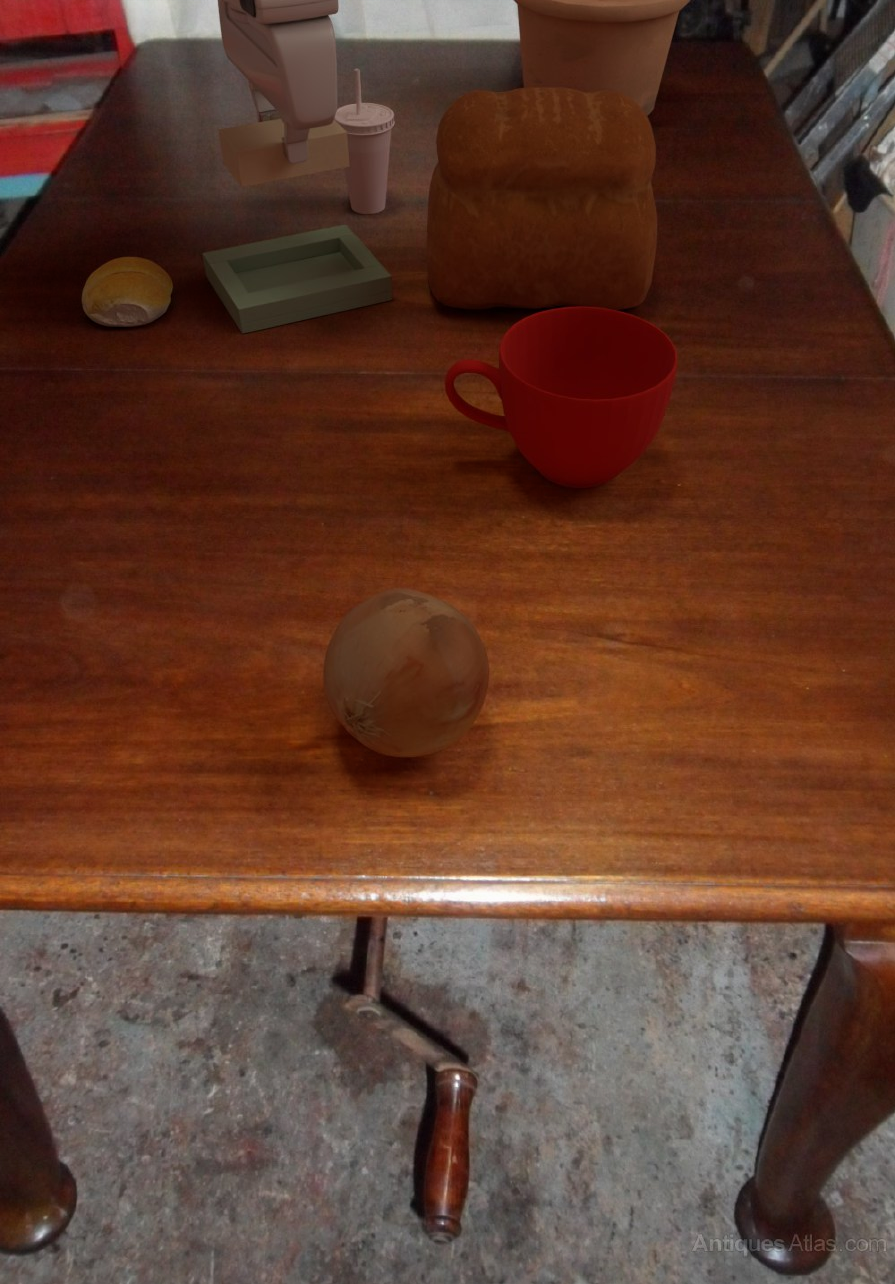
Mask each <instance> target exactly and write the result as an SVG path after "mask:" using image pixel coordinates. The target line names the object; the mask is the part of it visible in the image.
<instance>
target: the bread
mask: <svg viewBox="0 0 895 1284" xmlns="http://www.w3.org/2000/svg"><path fill="white" fill-rule="evenodd" d="M435 144H436V155H437V162H436V165H435V167H434V169H433V172H432V176H431V179H430V183H429V191H428V200H427V202H428V203H427V221H426V269H427V276H428V277H427V279H428V285H429V286H428V287H429V288H430V289H429V290H430V291H431V293H432V295H433V297H434V298H435V299H436V300H437V301H438V302H439V303H440V304H442V305H444V306H445V307H449V308H454V309H460V310H461V309H462V310H481V311H482V310H489V309H493V308H498V307H502V308H510V309H525V310H527V309H528V310H537V309H545V308H554V307H561V306H562V307H598V308H605V309H611V310H616V311H620V310H625V309H626V310H627V309H631V308H636V307H637V306H639V305H641V304H642V303H644V302H645V299H646V298H647V294H648V292H649V290H650V287H651V285H652V282H653V273H654V266H655V261H656V252H657V246H658V245H657V242H658V211H657V206H656V202H655V196H654V190H653V185H652V178H653V174H654V171H655V167H656V160H657V146H656V140H655V136H654V131H653V127H652V124H651V122H650V119H649V117H648V116H647V115H646V114H645V113H644V111H643V110H642V109H641V108H640V106H639V105H638V104H637V103H636V102H635V101H634V100H633V99H631V98H630V97H629V96H627V95H625V94H623V93H621V92H617V91H613V90H601V91H596V92H590V93H585V92H582V91H578V90H575V89H570V88H562V87H528V88H524V87H519V88H515V89H511V90H506V91H501V92H495V91H491V90H486V89H485V90H484V89H481V90H480V89H475V90H471V91H468V92H466V93H463V94H462V95H461V96H459V97H458V98H456V99H455V100H454V101H453V102H452V103H451V104H450V105H449V106H448V108H447V109H446V111H444V112H443V114H442V116H441V118H440V120H439V123H438V127H437V134H436V139H435Z"/></svg>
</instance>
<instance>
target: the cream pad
mask: <svg viewBox="0 0 895 1284" xmlns="http://www.w3.org/2000/svg"><path fill="white" fill-rule="evenodd" d="M218 137H219V143H220V151H221V156H222V157H221V158H222V163H223V165H224V167H225V168H226V169H227V171H228V172H229V173H230V174H231V176H232V177H233V178H234V179H235V181H236V182H237V183H238V184H239V186H240V187H241V188H246V187H251V186H255V185H261V184H267V183H271V182H278V181H282V180H283V181H284V180H287V179H292V178H293V179H294V178H297V177H303V176H307V175H313V174H318V173H325V172H328V171H329V172H330V171H334V170H339V169H344V168H345V167H349V156H348V142H347V132H346V131H345V130H344V129H343V128H342V127H341V126H340V125H339V124H338V123H337V122H336V121H335V120H334V121H333V123H332V124H330V125H327V126H322V127H317V128H311V129H309V134H308V139H307V147H308V159H307V160H306V161H305V162H301V163H296V164H292V163H290V162H289V161H288V159H287V158H286V157H285V156H284V152H283V144H282V137H284V123H283V122H282V119H276V120H270V121H265V122H258V121H257V122H253V123H248V124H241V125H236V126H230V127H225V128H224V127H223V128H220V129H219V128H218Z"/></svg>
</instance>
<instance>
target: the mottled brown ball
mask: <svg viewBox="0 0 895 1284" xmlns="http://www.w3.org/2000/svg"><path fill="white" fill-rule="evenodd" d="M324 655H325V656H324V662H323V669H322V680H323V689H324V694H325V698H326V701H327V703H328V706H329V708H330V710H331V712H332V714H333V715H334V716H335V718H336V719H337V721H338V722H339V723H340V724H341V725H342V727H343V728H344V729H345V730H346V732H347V733H348V734H349V735H351V736H352V737H353V738H354V739H356V740H357V741H358V742H359V743H360V744H361V745H362V746H365V747H366V748H368V749H370V750H371V751H373V752H375V753H377V754H381V755H384V756H388V757H396V758H416V757H417V758H419V757H423V756H427V755H433V754H437V753H439V752H442V751H444V750H446V749H448V748H450V747H452V746H453V745H455V744H456V743H458V742H459V741H460V740H461V739H462V738H463V737H464V736H465V735H466V734H467V733H468V732H469V730H471V728H472V726H473V724H474V723H475V721H476V720H477V718H478V716H479V715H480V713H481V711H482V709H483V706H484V703H485V701H486V697H487V692H488V687H489V682H490V662H489V657H488V653H487V649H486V647H485V645H484V643H483V641H482V639H481V636H480V634H479V633H478V631H477V629H476V628H475V626H474V625H473V624H472V623H471V621H470V620H469V619H468V617H467V616H466V615H465V614H464V613H463V612H462V611H460V610H459V609H458V608H456V607H455V606H454V605H452V604H450V603H448V602H447V601H445V600H443V599H440V598H439V597H436V596H434V595H431V594H428V593H425V592H423V591H420V590H416V589H413V588H404V587H403V588H402V587H392V588H391V587H390V588H387V589H385V590H382V591H380V592H378V593H376V594H374V595H372V596H370V597H368V598H367V599H365V600H363V601H362V602H360V603H358V604H357V605H356V606H354V607H353V608H352V609H350V610H349V611H348V612H347V613H346V614H345V616H344V617H343V618H342V619H341V621H340V622H339V623H338V625H337V627H336V628H335V630H334V631H333V634H332V636H331V638H330V641H329V643H328V645H327V649H326V651H325V654H324Z"/></svg>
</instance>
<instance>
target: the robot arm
mask: <svg viewBox="0 0 895 1284" xmlns="http://www.w3.org/2000/svg"><path fill="white" fill-rule="evenodd" d="M217 8H218V17H219V27H220V35H221V42H222V46H223V50H224V52H225V56H226V58H227V59H228V61H230V62H231V63H232V64H233V66H234V67H235V68H236V69H237V70H238V71H239V72H240V73H241V74H242V75H243V76H244V77H245V78H246V80H247V82H248V88H249V91H250V94H251V98H252V100H253V103H254V106H255V110H256V115H257V123H258V122H265V121H270V120H276V119H282V122H283V123H284V137H282V144H283V152H284V156H285V157H286V158H287V159H288V161H289V162H290V163H292V164H296V163H301V162H305V161H306V160H307V159H308V147H307V139H308V134H309V129H311V128H317V127H322V126H327V125H330V124H332V123H333V121H334V118H335V115H336V111H337V109H338V101H339V100H338V99H339V98H338V96H339V95H338V60H337V59H338V58H337V45H336V44H337V42H336V35H335V27H334V25H333V22H332V19H331V17H330V16H331V15H336V14H338V12H339V0H217Z"/></svg>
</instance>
